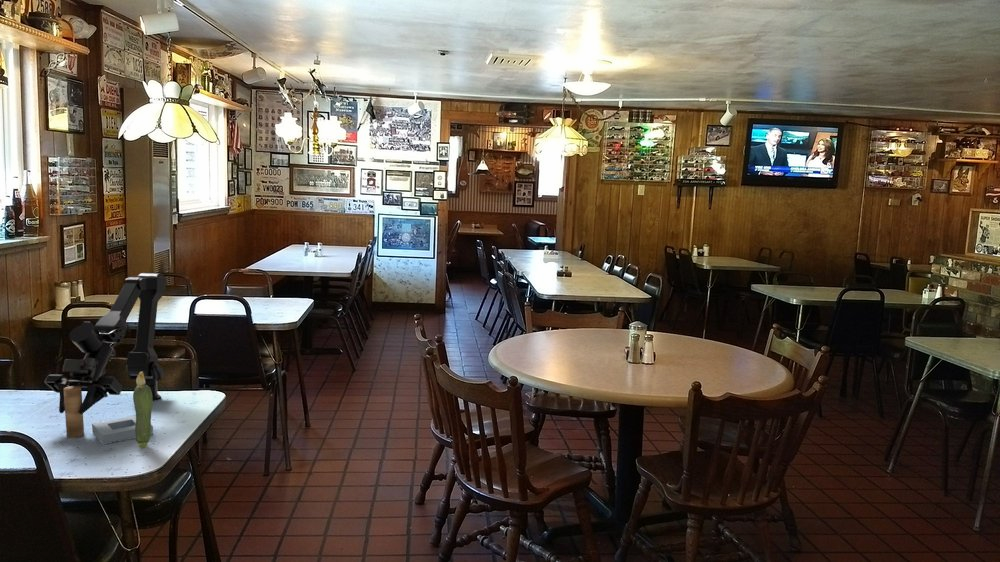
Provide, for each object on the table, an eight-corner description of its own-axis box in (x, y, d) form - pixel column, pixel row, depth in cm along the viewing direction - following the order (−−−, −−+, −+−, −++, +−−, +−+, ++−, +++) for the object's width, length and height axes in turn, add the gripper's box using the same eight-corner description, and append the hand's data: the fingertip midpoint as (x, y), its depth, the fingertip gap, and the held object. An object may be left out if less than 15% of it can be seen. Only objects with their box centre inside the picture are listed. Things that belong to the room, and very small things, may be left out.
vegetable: (136, 444, 182) (133, 368, 180) (155, 442, 184) (151, 367, 181) (134, 450, 178) (130, 373, 176) (153, 448, 180) (150, 371, 177)
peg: (65, 434, 188) (62, 387, 187) (82, 431, 191) (79, 384, 189) (68, 439, 185) (65, 390, 184) (85, 435, 188) (82, 388, 186)
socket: (92, 432, 191) (91, 423, 191) (140, 423, 199) (140, 414, 198) (102, 444, 182) (102, 435, 182) (153, 434, 190) (152, 425, 189)
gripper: (46, 345, 190) (18, 397, 180) (113, 347, 188) (89, 399, 179) (68, 366, 199) (43, 417, 189) (132, 368, 197) (110, 419, 188)
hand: (70, 413), depth 186 cm, fingers open, 5 cm apart
